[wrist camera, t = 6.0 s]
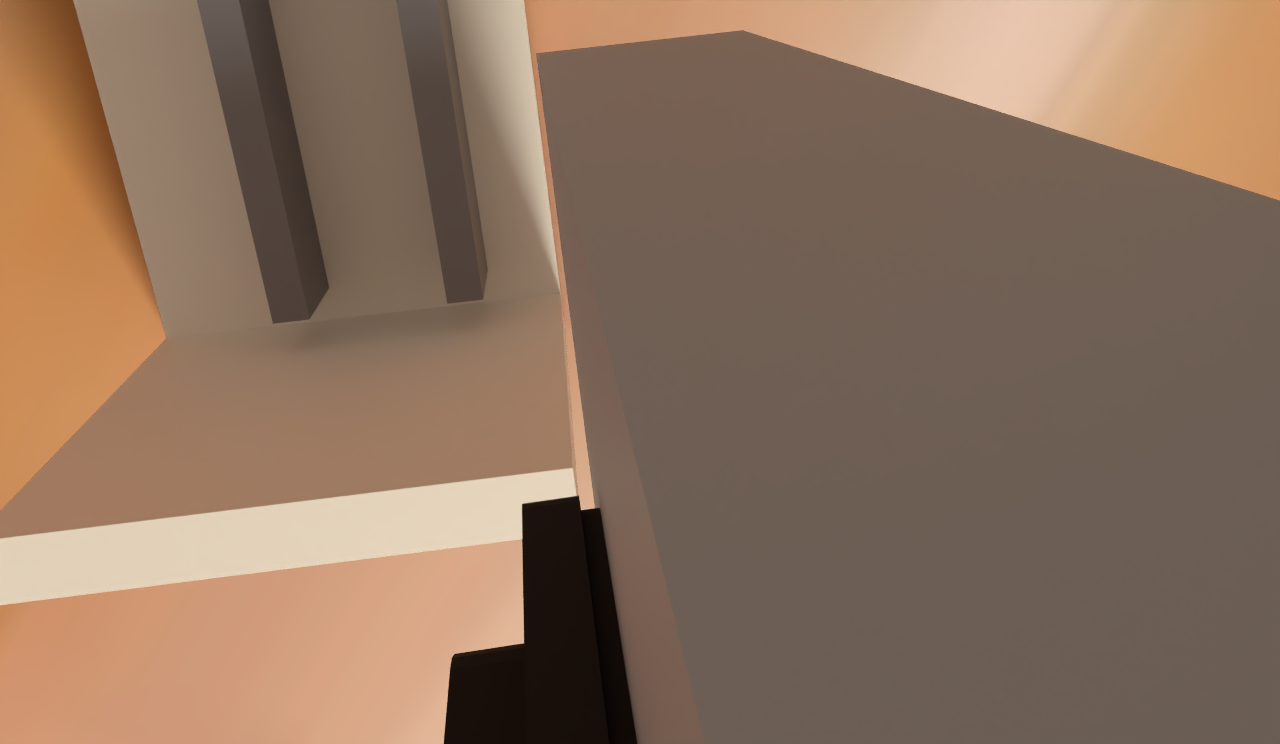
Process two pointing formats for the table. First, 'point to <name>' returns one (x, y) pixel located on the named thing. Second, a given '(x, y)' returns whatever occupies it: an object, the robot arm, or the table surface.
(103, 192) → the table surface
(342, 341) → the cabinet base
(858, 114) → the door panel
